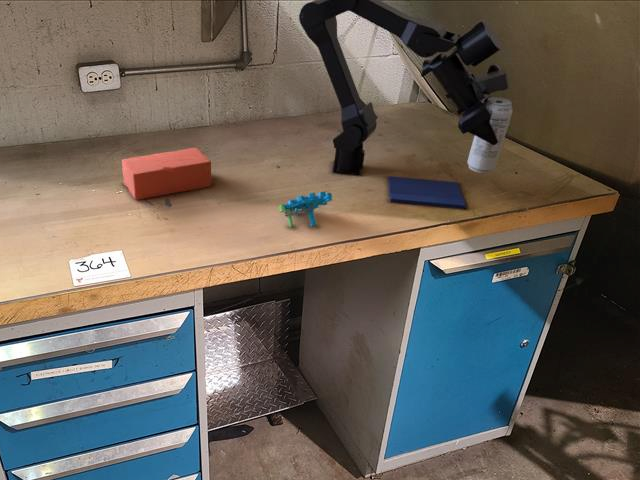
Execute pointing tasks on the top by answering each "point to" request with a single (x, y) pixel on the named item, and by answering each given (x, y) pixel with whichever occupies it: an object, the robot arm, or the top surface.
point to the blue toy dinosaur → (305, 206)
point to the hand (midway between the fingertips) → (495, 138)
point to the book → (426, 192)
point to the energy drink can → (485, 153)
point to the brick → (166, 173)
